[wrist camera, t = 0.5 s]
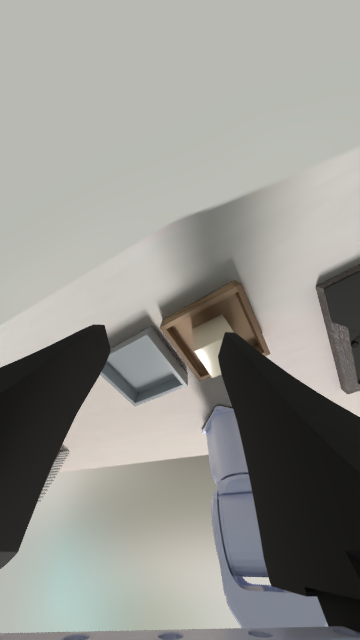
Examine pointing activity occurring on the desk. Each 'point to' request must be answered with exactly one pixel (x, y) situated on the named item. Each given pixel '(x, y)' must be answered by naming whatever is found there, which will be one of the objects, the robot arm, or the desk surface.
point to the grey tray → (143, 368)
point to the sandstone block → (210, 342)
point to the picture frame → (343, 324)
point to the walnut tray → (219, 302)
